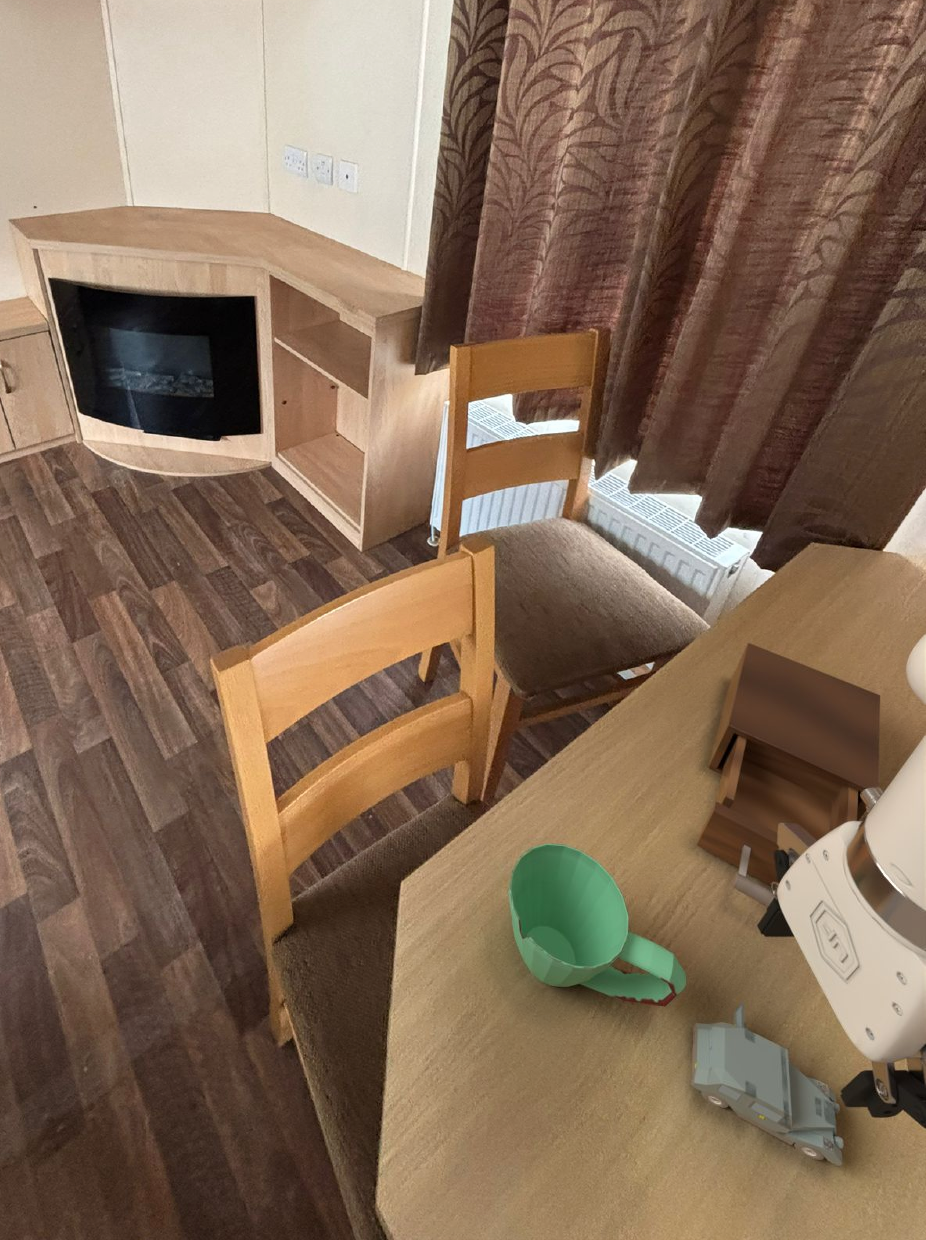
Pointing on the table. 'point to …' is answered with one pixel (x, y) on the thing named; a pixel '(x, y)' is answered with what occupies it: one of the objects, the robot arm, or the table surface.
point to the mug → (584, 929)
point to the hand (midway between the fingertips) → (817, 1009)
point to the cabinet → (802, 719)
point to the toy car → (765, 1087)
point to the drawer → (769, 811)
